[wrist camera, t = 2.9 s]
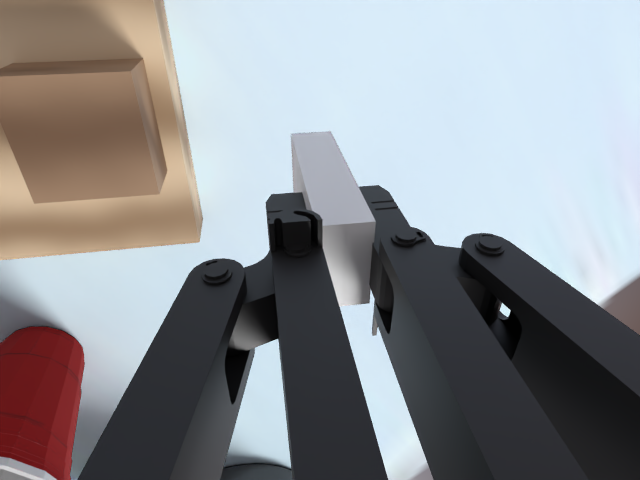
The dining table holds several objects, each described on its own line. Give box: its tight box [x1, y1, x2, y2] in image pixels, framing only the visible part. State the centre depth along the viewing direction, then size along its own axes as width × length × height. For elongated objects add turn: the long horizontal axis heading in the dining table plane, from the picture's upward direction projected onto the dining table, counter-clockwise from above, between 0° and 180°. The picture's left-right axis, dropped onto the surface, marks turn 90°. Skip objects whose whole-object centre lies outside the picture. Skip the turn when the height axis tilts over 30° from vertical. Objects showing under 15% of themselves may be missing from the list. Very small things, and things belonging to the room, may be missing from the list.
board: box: [0, 0, 203, 260], centre depth 23 cm, size 16×14×3 cm
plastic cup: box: [0, 327, 85, 480], centre depth 29 cm, size 11×11×12 cm
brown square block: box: [0, 58, 168, 204], centre depth 21 cm, size 6×6×3 cm
